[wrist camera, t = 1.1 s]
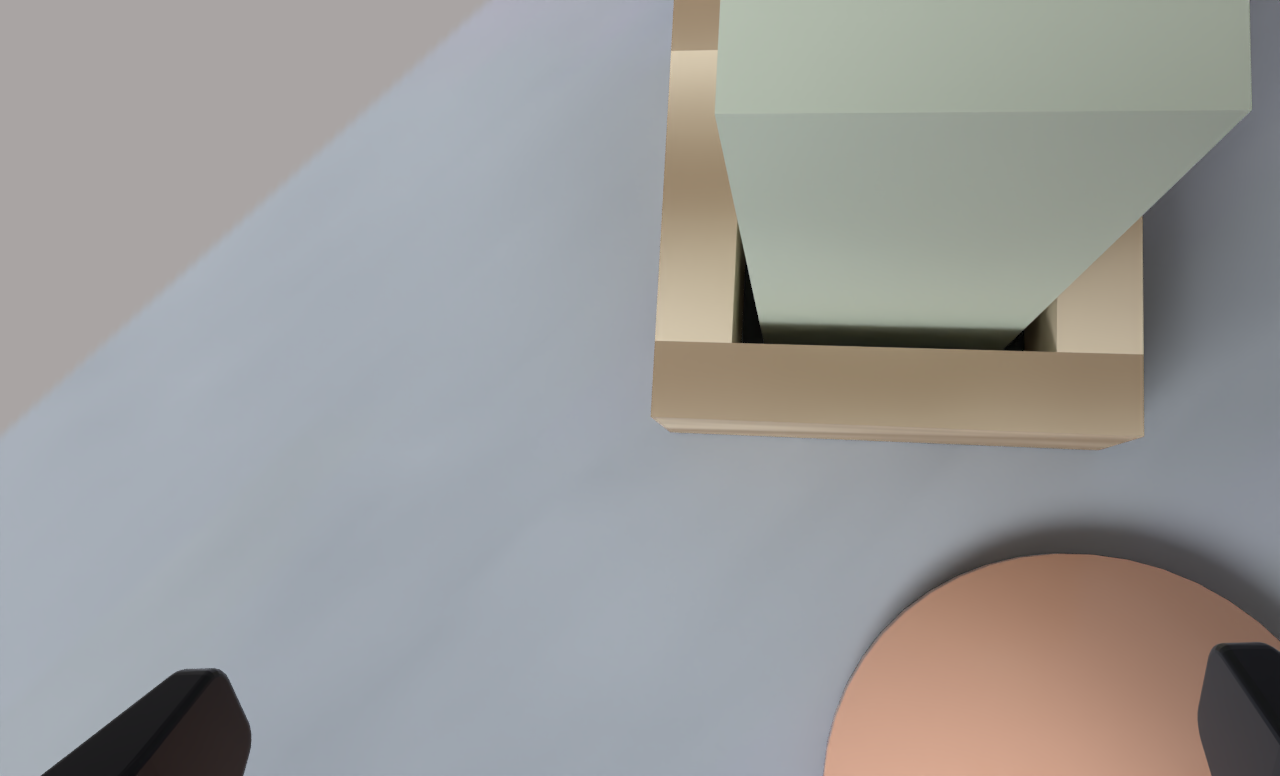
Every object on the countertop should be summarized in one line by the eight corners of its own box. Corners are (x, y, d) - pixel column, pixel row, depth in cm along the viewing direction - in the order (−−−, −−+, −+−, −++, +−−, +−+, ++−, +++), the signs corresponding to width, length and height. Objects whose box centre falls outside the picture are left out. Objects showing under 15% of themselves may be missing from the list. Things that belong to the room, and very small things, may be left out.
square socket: (1099, 450, 22) (1144, 436, 19) (670, 432, 23) (650, 416, 20) (1098, 41, 23) (1140, -31, 20) (690, 48, 24) (675, -19, 22)
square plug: (999, 352, 22) (1251, 110, 10) (764, 346, 23) (714, 114, 11) (1001, 129, 23) (1242, -371, 10) (773, 130, 24) (737, -333, 11)
